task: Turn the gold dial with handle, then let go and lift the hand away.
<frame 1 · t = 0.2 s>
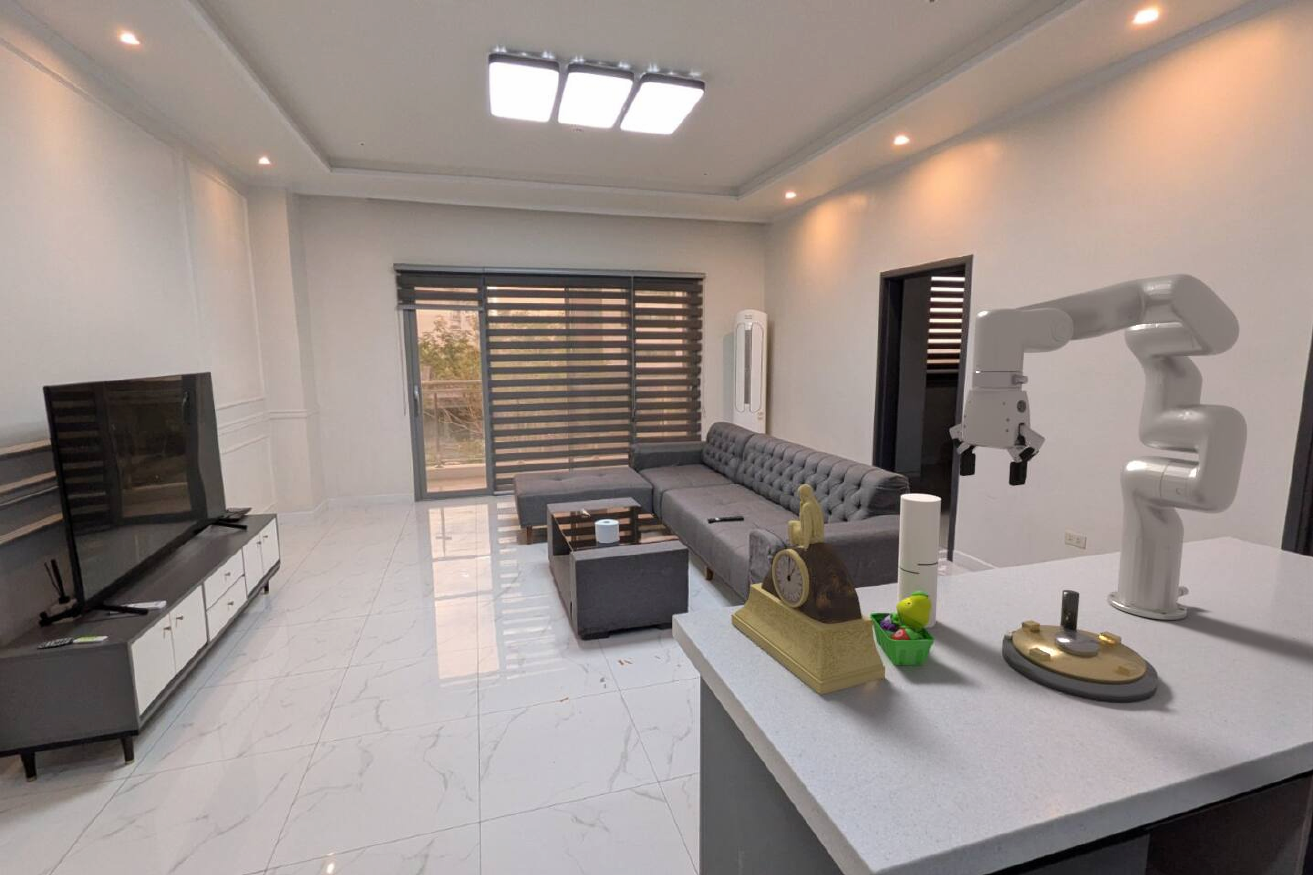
hand: (990, 479, 103), 30 cm above the kitchen island, tool pointing down, fingers open, 9 cm apart
fruit basket: (902, 654, 104), on the kitchen island
decorative clock: (800, 649, 106), on the kitchen island
gold dial with handle: (1077, 631, 97), point 6 cm above the kitchen island, hinge at 0.0°
cap plate: (1074, 667, 98), on the kitchen island
cylindrical container: (915, 620, 117), on the kitchen island
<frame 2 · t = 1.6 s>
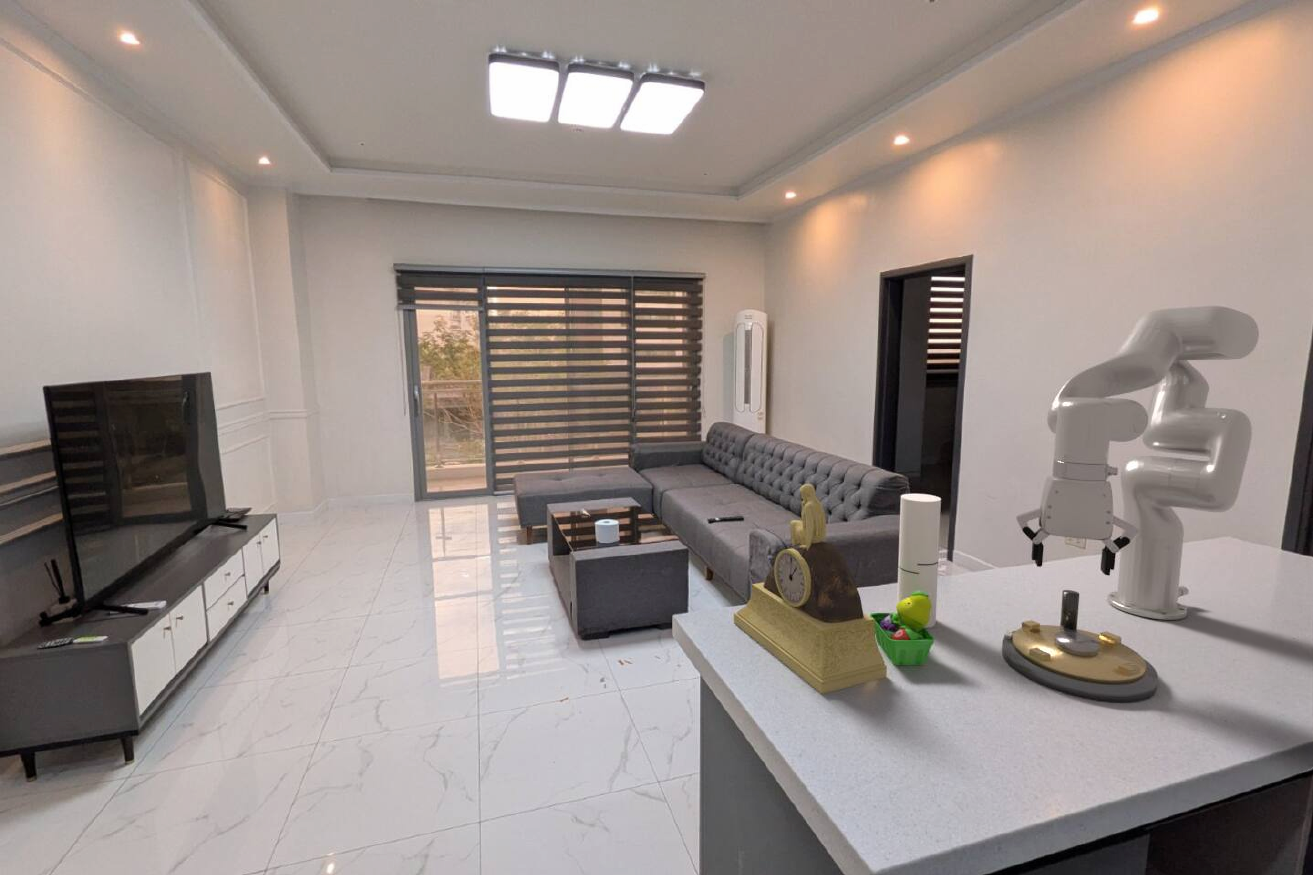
hand: (1071, 568, 102), 15 cm above the kitchen island, tool pointing down, fingers open, 9 cm apart
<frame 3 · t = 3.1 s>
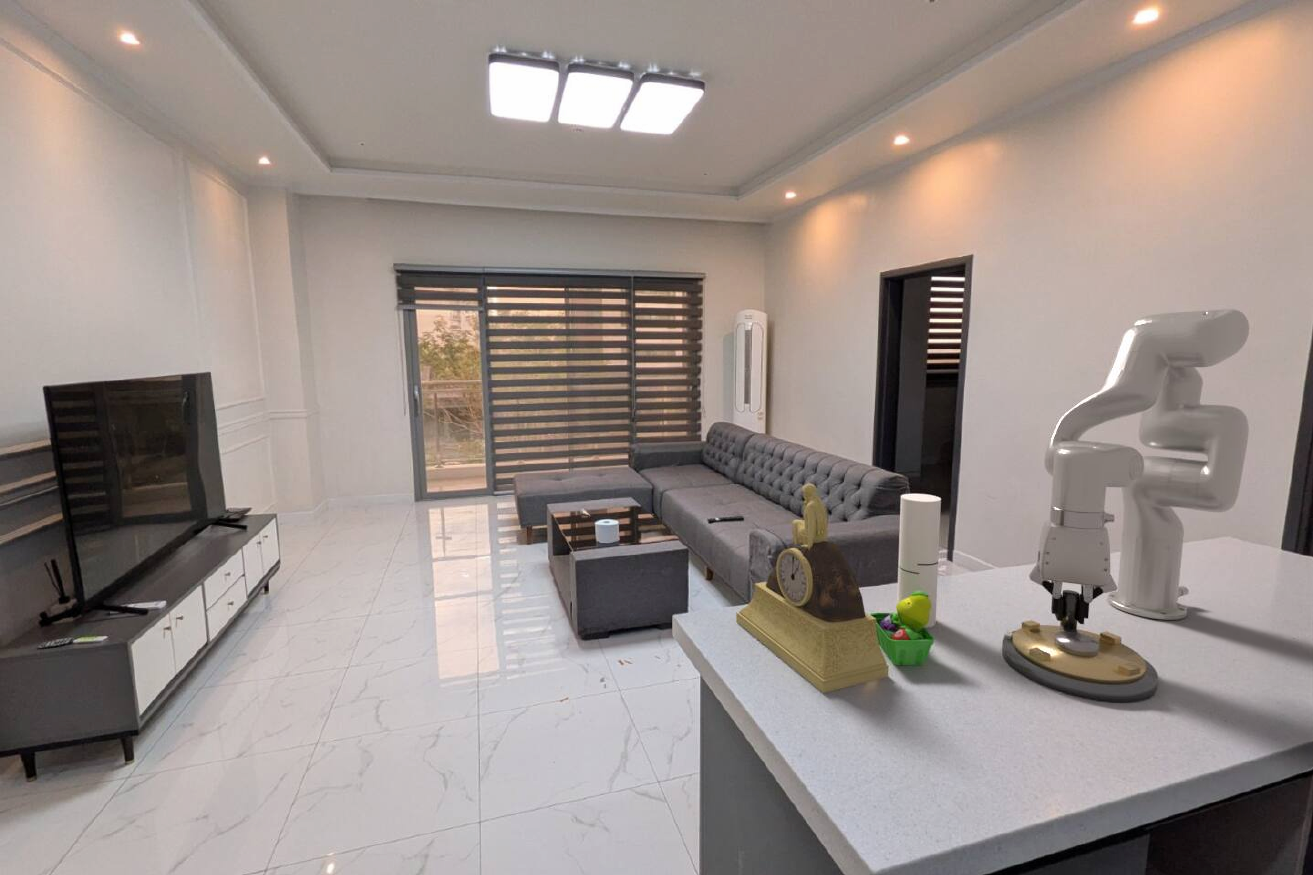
hand: (1069, 618, 104), 6 cm above the kitchen island, tool pointing down, fingers closed on gold dial with handle, 2 cm apart
gold dial with handle: (1077, 631, 97), point 6 cm above the kitchen island, hinge at 0.0°, touching gripper
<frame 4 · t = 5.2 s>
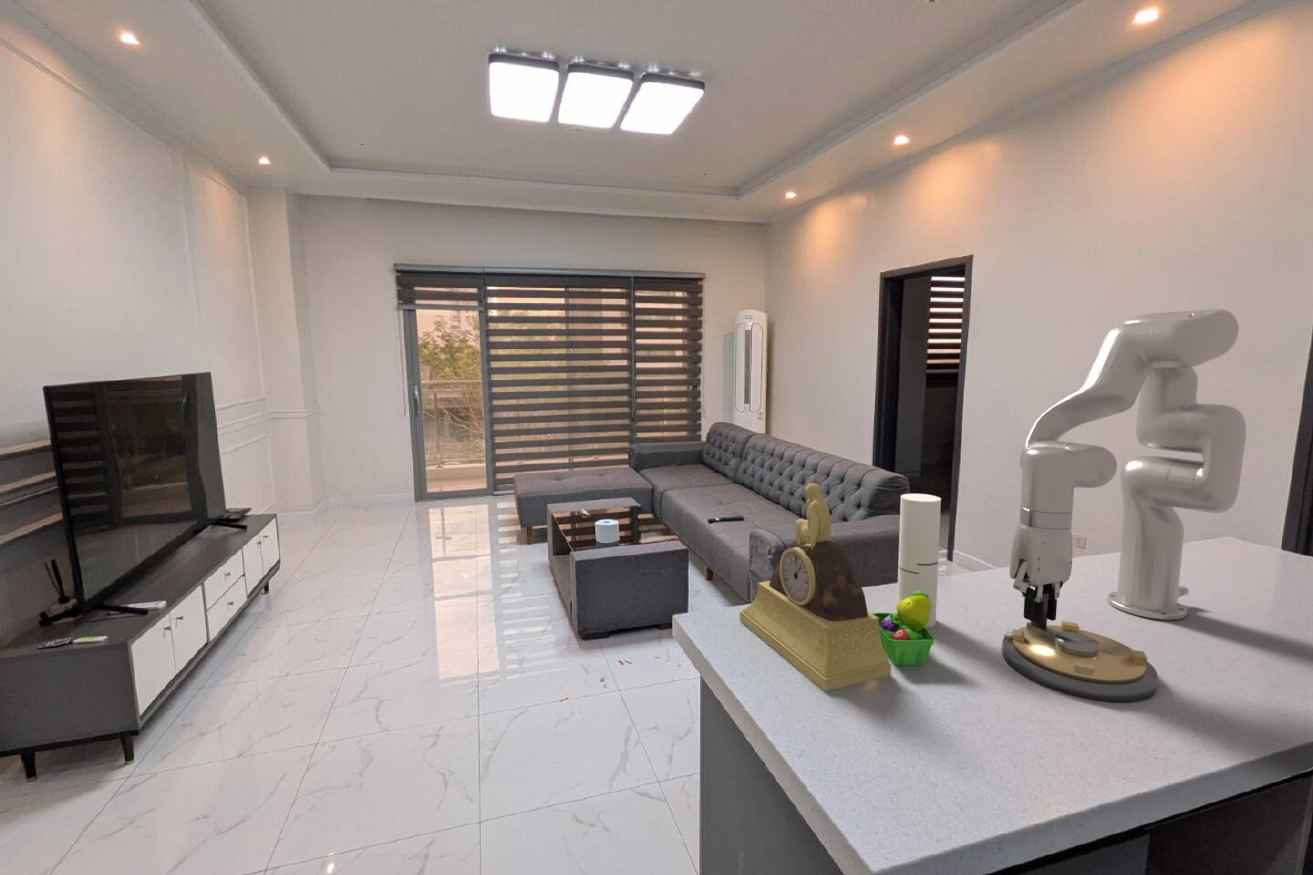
hand: (1039, 618, 104), 6 cm above the kitchen island, tool pointing down, fingers closed on gold dial with handle, 2 cm apart
gold dial with handle: (1077, 631, 97), point 6 cm above the kitchen island, hinge at 42.3°, touching gripper
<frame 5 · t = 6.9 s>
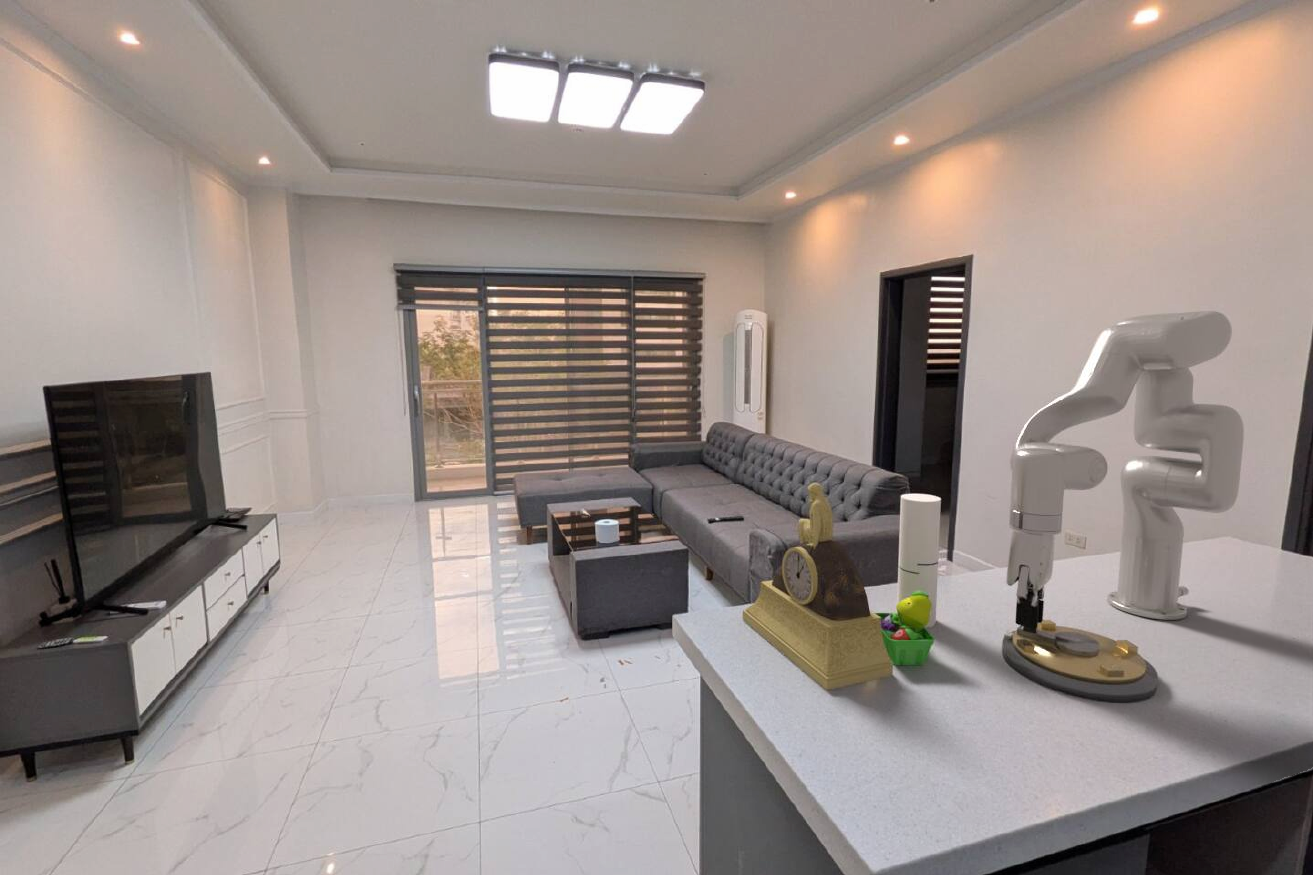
hand: (1028, 622, 102), 6 cm above the kitchen island, tool pointing down, fingers closed on gold dial with handle, 2 cm apart
gold dial with handle: (1077, 631, 97), point 6 cm above the kitchen island, hinge at 68.6°, touching gripper
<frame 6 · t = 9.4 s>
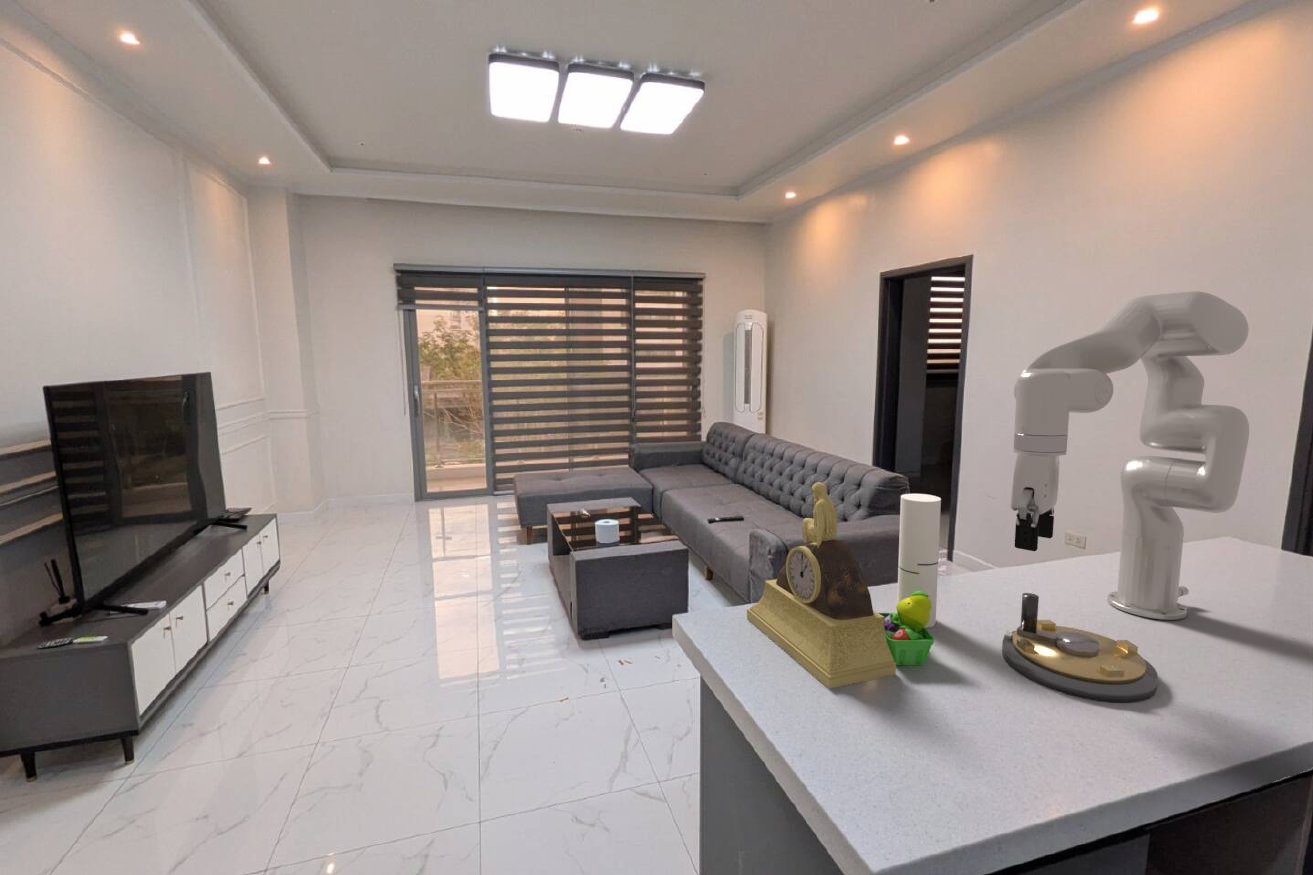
hand: (1034, 542, 101), 20 cm above the kitchen island, tool pointing down, fingers open, 9 cm apart
gold dial with handle: (1077, 631, 97), point 6 cm above the kitchen island, hinge at 68.7°
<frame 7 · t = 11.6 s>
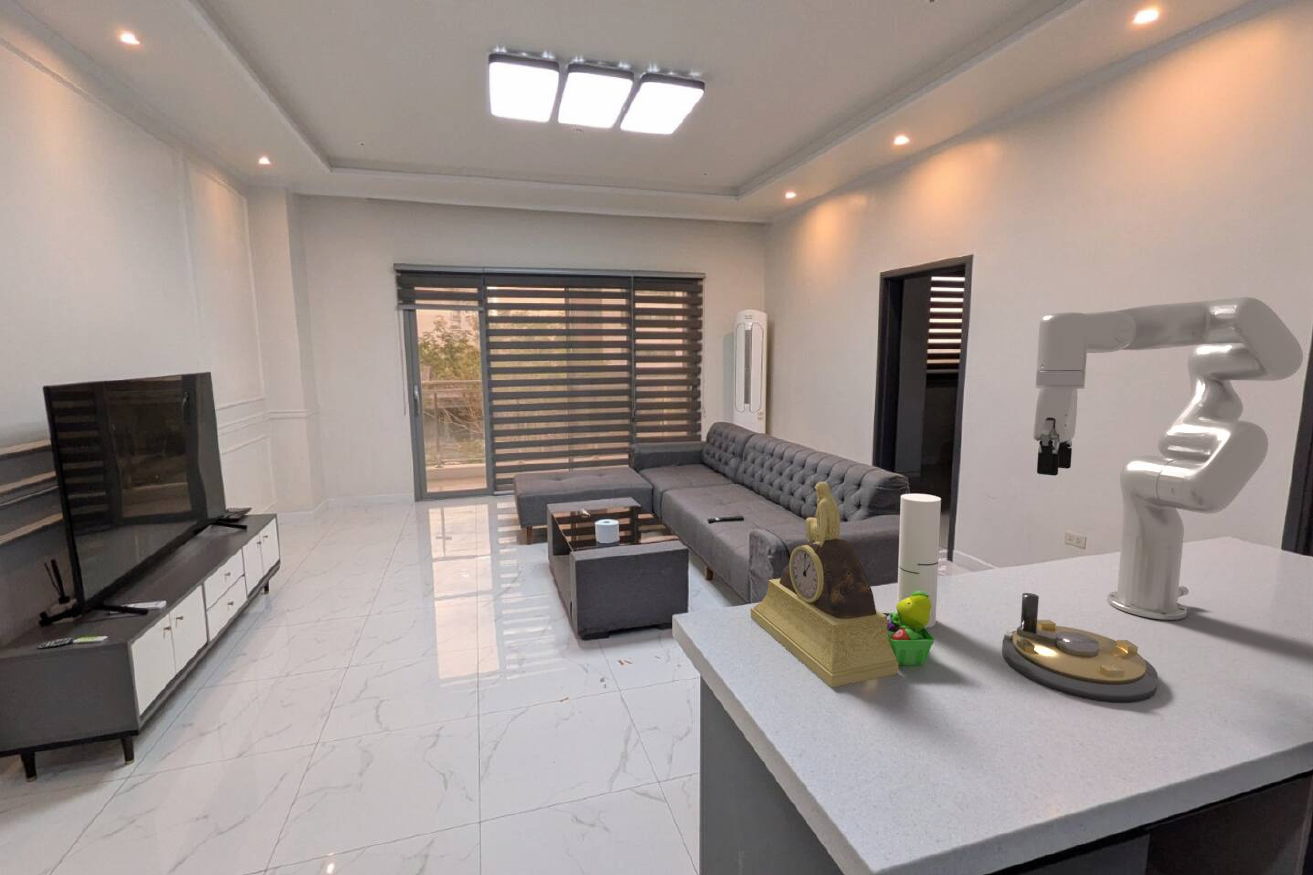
hand: (1054, 471, 111), 30 cm above the kitchen island, tool pointing down, fingers open, 9 cm apart
at the end: gold dial with handle at +69° (first picture: +0°); the gripper is holding nothing; cylindrical container moved 0.2 cm from its start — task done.
